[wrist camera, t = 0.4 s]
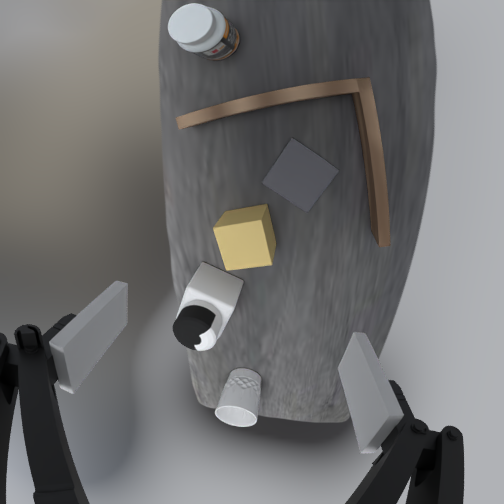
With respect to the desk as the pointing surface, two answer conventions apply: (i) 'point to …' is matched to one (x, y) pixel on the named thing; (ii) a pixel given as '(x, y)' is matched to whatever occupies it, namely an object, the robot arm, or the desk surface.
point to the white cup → (240, 398)
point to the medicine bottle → (206, 307)
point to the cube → (246, 237)
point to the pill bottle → (203, 31)
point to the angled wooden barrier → (366, 125)
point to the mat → (300, 175)
